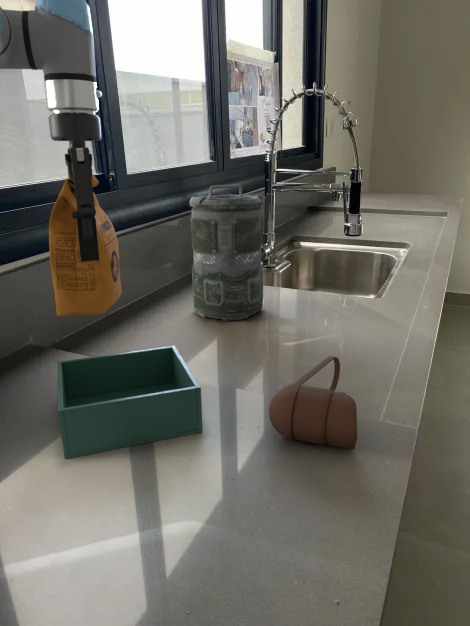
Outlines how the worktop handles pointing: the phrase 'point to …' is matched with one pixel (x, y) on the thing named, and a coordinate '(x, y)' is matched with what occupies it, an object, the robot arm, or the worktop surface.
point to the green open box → (126, 400)
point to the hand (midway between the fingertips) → (87, 253)
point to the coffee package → (88, 276)
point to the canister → (227, 254)
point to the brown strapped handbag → (315, 412)
